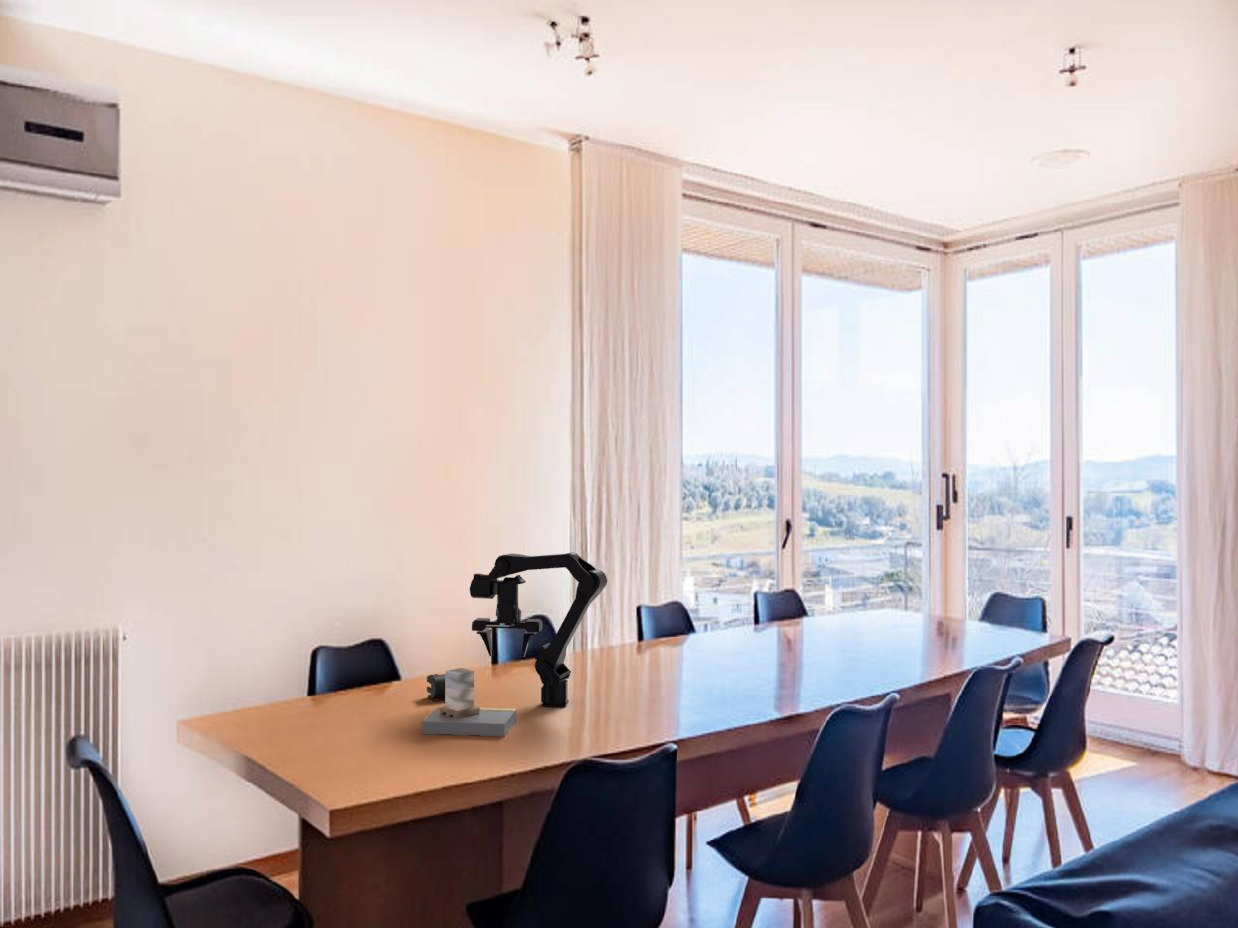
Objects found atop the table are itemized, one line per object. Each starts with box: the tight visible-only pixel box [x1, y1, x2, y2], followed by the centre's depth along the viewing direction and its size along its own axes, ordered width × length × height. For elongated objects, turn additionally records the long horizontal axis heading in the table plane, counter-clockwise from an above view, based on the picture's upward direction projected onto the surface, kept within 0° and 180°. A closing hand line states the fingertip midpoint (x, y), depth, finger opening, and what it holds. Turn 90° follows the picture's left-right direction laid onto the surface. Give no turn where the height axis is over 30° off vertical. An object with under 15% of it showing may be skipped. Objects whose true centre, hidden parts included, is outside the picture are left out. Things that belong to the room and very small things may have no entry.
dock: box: [421, 706, 517, 738], centre depth 228 cm, size 20×14×3 cm
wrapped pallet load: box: [438, 667, 481, 719], centre depth 229 cm, size 7×7×10 cm
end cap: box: [426, 673, 445, 701], centre depth 259 cm, size 10×7×7 cm
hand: (507, 656), depth 256 cm, fingers open, 9 cm apart
